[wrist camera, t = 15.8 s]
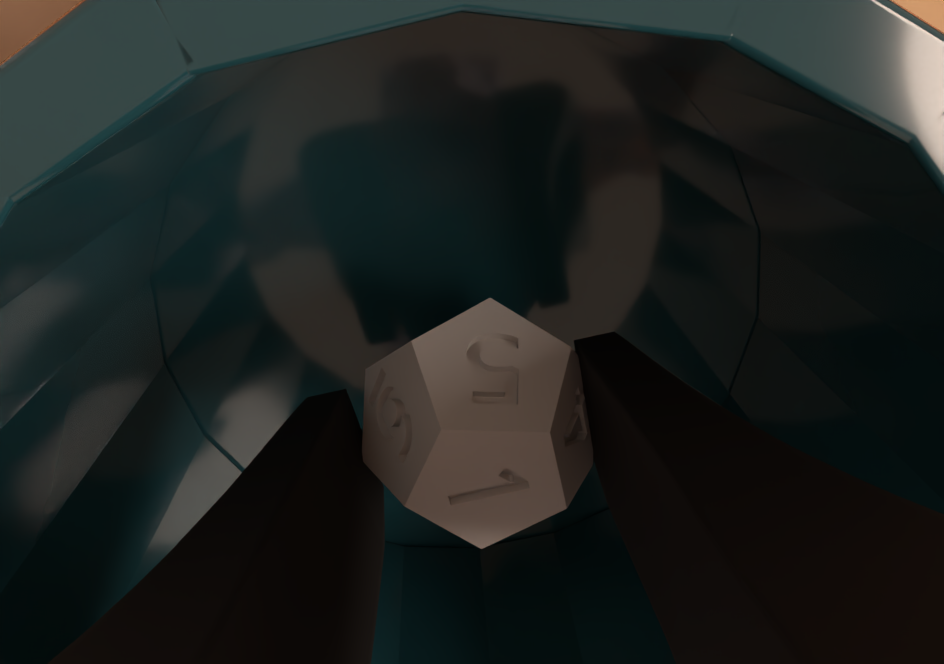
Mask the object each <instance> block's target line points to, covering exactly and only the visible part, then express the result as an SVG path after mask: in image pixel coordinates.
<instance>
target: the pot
mask: <svg viewBox="0 0 944 664" xmlns="http://www.w3.org/2000/svg"><path fill="white" fill-rule="evenodd" d="M488 298H492V299H493V300H495V301H497V302H498V303H500V304H502V305H503V306H505V307H506V308H508V309H510V310H511V311H513V312H515V313H516V314H518V315H520V316H521V317H523V318H524V319H526V320H528V321H529V322H531V323H533V324H534V325H536V326H538V327H539V328H541V329H543V330H544V331H546V332H547V333H549V334H551V335H552V336H554V337H556V338H557V339H559V340H561V341H562V342H564V343H565V344H567V345H569V346H570V347H572V349H573V350H574V351H575V346H574V340H577V339H581V338H586V337H591V336H596V335H600V334H605V333H610V332H616V333H617V334H619V335H620V336H622V337H623V338H625V339H626V340H627V341H629V342H630V343H631V344H633V345H634V346H635V347H637V348H638V349H639V350H641V351H642V352H643V353H645V354H646V355H648V356H649V357H650V358H652V359H653V360H654V361H656V362H657V363H659V364H660V365H661V366H663V367H664V368H665V369H667V370H668V371H670V372H671V373H672V374H674V375H675V376H677V377H678V378H680V379H681V380H683V381H684V382H685V383H687V384H688V385H690V386H691V387H693V388H694V389H696V390H698V391H699V392H701V393H702V394H704V395H705V396H707V397H708V398H710V399H711V400H713V401H714V402H716V403H717V404H719V405H720V406H722V407H724V408H725V409H727V410H728V411H730V412H732V413H733V414H735V415H737V416H738V417H740V418H742V419H744V420H745V421H747V422H749V423H751V424H752V425H754V426H756V427H758V428H759V429H761V430H763V431H765V432H766V433H768V434H770V435H772V436H773V437H775V438H777V439H779V440H781V441H783V442H785V443H787V444H788V445H790V446H792V447H794V448H796V449H798V450H800V451H802V452H804V453H806V454H808V455H810V456H812V457H814V458H816V459H819V460H821V461H823V462H825V463H827V464H829V465H831V466H833V467H835V468H837V469H839V470H841V471H844V472H846V473H848V474H850V475H852V476H854V477H856V478H858V479H860V480H863V481H865V482H867V483H869V484H872V485H874V486H876V487H879V488H881V489H883V490H886V491H888V492H890V493H892V494H895V495H897V496H899V497H902V498H904V499H907V500H909V501H912V502H914V503H917V504H919V505H922V506H924V507H927V508H929V509H932V510H934V511H937V512H939V513H942V514H944V33H943V32H942V31H940V30H939V29H937V28H935V27H934V26H932V25H931V24H929V23H927V22H926V21H924V20H923V19H921V18H919V17H918V16H916V15H915V14H913V13H911V12H910V11H908V10H907V9H905V8H903V7H902V6H900V5H899V4H897V3H896V2H894V1H892V0H82V1H81V2H79V3H78V4H77V5H75V6H74V7H73V8H72V9H70V10H69V11H68V12H66V13H65V14H64V15H63V16H61V17H60V18H59V19H57V20H56V21H55V22H53V23H52V24H51V25H50V26H48V27H47V28H46V29H44V30H43V31H42V32H41V33H39V34H38V35H37V36H35V37H34V38H33V39H31V40H30V41H29V42H28V43H26V44H25V45H24V46H22V47H21V48H20V49H19V50H17V51H16V52H15V53H13V54H12V55H11V56H9V57H8V58H7V59H6V60H4V61H3V62H2V63H0V664H47V663H48V662H50V661H51V660H52V659H53V658H54V657H56V656H57V655H58V654H59V653H60V652H62V651H63V650H64V649H65V648H66V647H68V646H69V645H70V644H71V643H72V642H74V641H75V640H76V639H77V638H78V637H80V636H81V635H82V634H83V633H84V632H85V631H86V630H88V629H89V628H90V627H91V626H92V625H93V624H94V623H95V622H97V621H98V620H99V619H100V618H101V617H102V616H103V615H104V614H105V613H106V612H107V611H108V610H110V609H111V608H112V607H113V606H114V605H115V604H116V603H117V602H118V601H119V600H120V599H121V598H123V597H124V596H125V595H126V594H127V593H128V592H129V591H130V590H131V589H132V588H133V587H134V586H136V585H137V584H138V583H139V582H140V581H141V580H142V579H143V578H144V577H145V576H146V575H147V574H148V573H149V572H150V571H151V570H152V569H153V568H154V567H155V566H156V565H157V564H158V563H159V562H160V561H161V560H162V559H163V558H164V557H165V556H166V555H167V554H168V553H169V552H170V551H171V550H172V549H173V548H174V547H175V546H176V545H177V544H178V542H179V541H180V540H181V539H182V538H183V537H184V536H185V535H186V534H187V533H188V532H189V531H190V530H191V528H192V527H193V526H194V525H195V524H196V523H197V522H198V521H199V520H200V519H201V518H202V517H203V516H204V514H205V513H206V512H207V511H208V510H209V509H210V508H211V507H212V506H213V505H214V504H215V503H216V502H217V500H218V499H219V498H220V497H221V496H222V495H223V494H224V493H225V492H226V491H227V489H228V488H229V487H230V486H231V485H232V484H233V483H234V481H235V480H236V479H237V478H238V477H239V475H240V474H241V473H242V472H243V471H244V470H245V468H246V467H247V466H248V465H249V464H250V463H251V461H252V460H253V459H254V458H255V457H256V456H257V454H258V453H259V452H260V451H261V450H262V449H263V447H264V446H265V445H266V444H267V443H268V441H269V440H270V439H271V438H272V437H273V435H274V434H275V433H276V432H277V431H278V429H279V428H280V427H281V426H282V425H283V424H284V422H285V421H286V420H287V419H288V418H289V416H290V415H291V414H292V413H293V412H294V411H295V410H296V408H297V407H298V406H299V405H300V404H301V403H302V402H303V401H304V400H305V399H306V398H307V397H310V396H315V395H319V394H324V393H329V392H333V391H338V390H343V389H346V390H347V393H348V395H349V398H350V401H351V403H352V406H353V408H354V411H355V414H356V416H357V419H358V421H359V424H360V427H361V429H362V432H363V412H364V390H365V369H367V368H368V367H370V366H371V365H373V364H375V363H376V362H378V361H380V360H381V359H383V358H384V357H386V356H388V355H389V354H391V353H392V352H394V351H396V350H397V349H399V348H401V347H402V346H404V345H405V344H407V343H409V342H410V341H412V340H414V339H416V338H417V337H419V336H421V335H423V334H425V333H427V332H428V331H430V330H432V329H434V328H436V327H437V326H439V325H441V324H443V323H445V322H447V321H448V320H450V319H452V318H454V317H456V316H457V315H459V314H461V313H463V312H465V311H467V310H468V309H470V308H472V307H474V306H476V305H477V304H479V303H481V302H483V301H485V300H487V299H488ZM382 484H383V483H382ZM383 486H384V518H385V548H384V557H383V567H382V575H381V584H380V593H379V602H378V610H377V618H376V626H375V635H374V643H373V651H372V659H371V664H676V662H675V660H674V657H673V654H672V652H671V649H670V647H669V644H668V642H667V639H666V637H665V635H664V632H663V630H662V628H661V626H660V623H659V621H658V619H657V617H656V614H655V612H654V610H653V607H652V605H651V603H650V601H649V598H648V596H647V594H646V591H645V589H644V587H643V585H642V582H641V580H640V578H639V575H638V573H637V571H636V569H635V566H634V564H633V562H632V560H631V557H630V555H629V553H628V550H627V548H626V546H625V543H624V541H623V539H622V537H621V534H620V532H619V530H618V527H617V525H616V523H615V520H614V518H613V516H612V513H611V511H610V509H609V506H608V504H607V501H606V498H605V495H604V492H603V488H602V485H601V482H600V479H599V476H598V472H597V469H596V466H595V462H594V459H593V465H592V467H591V469H590V471H589V472H588V474H587V476H586V477H585V479H584V481H583V482H582V484H581V486H580V487H579V489H578V491H577V492H576V494H575V496H574V497H573V499H572V501H571V503H570V504H569V506H568V508H567V509H565V510H563V511H561V512H559V513H557V514H554V515H552V516H550V517H548V518H546V519H544V520H542V521H540V522H538V523H536V524H533V525H531V526H529V527H527V528H525V529H523V530H521V531H519V532H517V533H514V534H512V535H510V536H508V537H506V538H504V539H502V540H500V541H498V542H496V543H493V544H491V545H489V546H487V547H485V548H483V549H480V548H479V547H477V546H475V545H473V544H471V543H470V542H468V541H466V540H464V539H462V538H461V537H459V536H457V535H455V534H453V533H451V532H450V531H448V530H446V529H444V528H442V527H441V526H439V525H437V524H435V523H433V522H432V521H430V520H428V519H426V518H424V517H423V516H421V515H419V514H417V513H415V512H414V511H412V510H410V509H408V508H406V507H405V506H404V505H403V504H402V503H401V502H400V501H399V500H398V499H397V498H396V497H395V496H394V495H393V494H392V492H391V491H390V490H389V489H388V488H387V487H386V486H385V485H384V484H383Z"/></svg>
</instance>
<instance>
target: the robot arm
mask: <svg viewBox="0 0 944 664" xmlns="http://www.w3.org/2000/svg"><path fill="white" fill-rule="evenodd" d="M574 346H575V352H576V354H577V355H578V357H579V363H580V370H581V376H582V383H583V393H584V397H585V402H586V408H587V415H588V421H589V428H590V434H591V440H592V447H593V459H594V462H595V466H596V469H597V472H598V476H599V479H600V482H601V485H602V488H603V492H604V495H605V498H606V501H607V504H608V506H609V509H610V511H611V513H612V516H613V518H614V520H615V523H616V525H617V527H618V530H619V532H620V534H621V537H622V539H623V541H624V543H625V546H626V548H627V550H628V553H629V555H630V557H631V560H632V562H633V564H634V566H635V569H636V571H637V573H638V575H639V578H640V580H641V582H642V585H643V587H644V589H645V591H646V594H647V596H648V598H649V601H650V603H651V605H652V607H653V610H654V612H655V614H656V617H657V619H658V621H659V623H660V626H661V628H662V630H663V632H664V635H665V637H666V639H667V642H668V644H669V647H670V649H671V652H672V654H673V657H674V660H675V662H676V664H944V514H942V513H939V512H937V511H934V510H932V509H929V508H927V507H924V506H922V505H919V504H917V503H914V502H912V501H909V500H907V499H904V498H902V497H899V496H897V495H895V494H892V493H890V492H888V491H886V490H883V489H881V488H879V487H876V486H874V485H872V484H869V483H867V482H865V481H863V480H860V479H858V478H856V477H854V476H852V475H850V474H848V473H846V472H844V471H841V470H839V469H837V468H835V467H833V466H831V465H829V464H827V463H825V462H823V461H821V460H819V459H816V458H814V457H812V456H810V455H808V454H806V453H804V452H802V451H800V450H798V449H796V448H794V447H792V446H790V445H788V444H787V443H785V442H783V441H781V440H779V439H777V438H775V437H773V436H772V435H770V434H768V433H766V432H765V431H763V430H761V429H759V428H758V427H756V426H754V425H752V424H751V423H749V422H747V421H745V420H744V419H742V418H740V417H738V416H737V415H735V414H733V413H732V412H730V411H728V410H727V409H725V408H724V407H722V406H720V405H719V404H717V403H716V402H714V401H713V400H711V399H710V398H708V397H707V396H705V395H704V394H702V393H701V392H699V391H698V390H696V389H694V388H693V387H691V386H690V385H688V384H687V383H685V382H684V381H683V380H681V379H680V378H678V377H677V376H675V375H674V374H672V373H671V372H670V371H668V370H667V369H665V368H664V367H663V366H661V365H660V364H659V363H657V362H656V361H654V360H653V359H652V358H650V357H649V356H648V355H646V354H645V353H643V352H642V351H641V350H639V349H638V348H637V347H635V346H634V345H633V344H631V343H630V342H629V341H627V340H626V339H625V338H623V337H622V336H620V335H619V334H617V333H616V332H610V333H605V334H600V335H596V336H591V337H586V338H581V339H577V340H574ZM362 435H363V432H362V429H361V427H360V424H359V421H358V419H357V416H356V414H355V411H354V408H353V406H352V403H351V401H350V398H349V395H348V393H347V390H346V389H343V390H338V391H333V392H329V393H324V394H319V395H315V396H310V397H307V398H306V399H305V400H304V401H303V402H302V403H301V404H300V405H299V406H298V407H297V408H296V410H295V411H294V412H293V413H292V414H291V415H290V416H289V418H288V419H287V420H286V421H285V422H284V424H283V425H282V426H281V427H280V428H279V429H278V431H277V432H276V433H275V434H274V435H273V437H272V438H271V439H270V440H269V441H268V443H267V444H266V445H265V446H264V447H263V449H262V450H261V451H260V452H259V453H258V454H257V456H256V457H255V458H254V459H253V460H252V461H251V463H250V464H249V465H248V466H247V467H246V468H245V470H244V471H243V472H242V473H241V474H240V475H239V477H238V478H237V479H236V480H235V481H234V483H233V484H232V485H231V486H230V487H229V488H228V489H227V491H226V492H225V493H224V494H223V495H222V496H221V497H220V498H219V499H218V500H217V502H216V503H215V504H214V505H213V506H212V507H211V508H210V509H209V510H208V511H207V512H206V513H205V514H204V516H203V517H202V518H201V519H200V520H199V521H198V522H197V523H196V524H195V525H194V526H193V527H192V528H191V530H190V531H189V532H188V533H187V534H186V535H185V536H184V537H183V538H182V539H181V540H180V541H179V542H178V544H177V545H176V546H175V547H174V548H173V549H172V550H171V551H170V552H169V553H168V554H167V555H166V556H165V557H164V558H163V559H162V560H161V561H160V562H159V563H158V564H157V565H156V566H155V567H154V568H153V569H152V570H151V571H150V572H149V573H148V574H147V575H146V576H145V577H144V578H143V579H142V580H141V581H140V582H139V583H138V584H137V585H136V586H134V587H133V588H132V589H131V590H130V591H129V592H128V593H127V594H126V595H125V596H124V597H123V598H121V599H120V600H119V601H118V602H117V603H116V604H115V605H114V606H113V607H112V608H111V609H110V610H108V611H107V612H106V613H105V614H104V615H103V616H102V617H101V618H100V619H99V620H98V621H97V622H95V623H94V624H93V625H92V626H91V627H90V628H89V629H88V630H86V631H85V632H84V633H83V634H82V635H81V636H80V637H78V638H77V639H76V640H75V641H74V642H72V643H71V644H70V645H69V646H68V647H66V648H65V649H64V650H63V651H62V652H60V653H59V654H58V655H57V656H56V657H54V658H53V659H52V660H51V661H50V662H48V663H47V664H371V659H372V651H373V643H374V635H375V626H376V618H377V610H378V602H379V593H380V584H381V575H382V567H383V557H384V548H385V518H384V486H383V484H382V482H381V481H380V479H379V478H378V477H377V476H376V475H375V474H374V473H373V472H372V471H371V470H370V469H369V468H368V466H367V465H366V464H365V463H364V462H363V457H362Z"/></svg>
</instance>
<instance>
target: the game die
mask: <svg viewBox="0 0 944 664" xmlns="http://www.w3.org/2000/svg"><path fill="white" fill-rule="evenodd" d="M362 457H363V462H364V463H365V464H366V465H367V466H368V468H369V469H370V470H371V471H372V472H373V473H374V474H375V475H376V476H377V477H378V478H379V479H380V481H381V482H382V483H383V484H384V485H385V486H386V487H387V488H388V489H389V490H390V491H391V492H392V494H393V495H394V496H395V497H396V498H397V499H398V500H399V501H400V502H401V503H402V504H403V505H404V506H405V507H406V508H408V509H410V510H412V511H414V512H415V513H417V514H419V515H421V516H423V517H424V518H426V519H428V520H430V521H432V522H433V523H435V524H437V525H439V526H441V527H442V528H444V529H446V530H448V531H450V532H451V533H453V534H455V535H457V536H459V537H461V538H462V539H464V540H466V541H468V542H470V543H471V544H473V545H475V546H477V547H479V548H480V549H483V548H485V547H487V546H489V545H491V544H493V543H496V542H498V541H500V540H502V539H504V538H506V537H508V536H510V535H512V534H514V533H517V532H519V531H521V530H523V529H525V528H527V527H529V526H531V525H533V524H536V523H538V522H540V521H542V520H544V519H546V518H548V517H550V516H552V515H554V514H557V513H559V512H561V511H563V510H565V509H567V508H568V506H569V504H570V503H571V501H572V499H573V497H574V496H575V494H576V492H577V491H578V489H579V487H580V486H581V484H582V482H583V481H584V479H585V477H586V476H587V474H588V472H589V471H590V469H591V467H592V465H593V447H592V440H591V434H590V428H589V421H588V415H587V408H586V402H585V397H584V393H583V383H582V376H581V370H580V363H579V357H578V355H577V354H576V352H575V351H574V350H573V349H572V347H570V346H569V345H567V344H565V343H564V342H562V341H561V340H559V339H557V338H556V337H554V336H552V335H551V334H549V333H547V332H546V331H544V330H543V329H541V328H539V327H538V326H536V325H534V324H533V323H531V322H529V321H528V320H526V319H524V318H523V317H521V316H520V315H518V314H516V313H515V312H513V311H511V310H510V309H508V308H506V307H505V306H503V305H502V304H500V303H498V302H497V301H495V300H493V299H492V298H488V299H487V300H485V301H483V302H481V303H479V304H477V305H476V306H474V307H472V308H470V309H468V310H467V311H465V312H463V313H461V314H459V315H457V316H456V317H454V318H452V319H450V320H448V321H447V322H445V323H443V324H441V325H439V326H437V327H436V328H434V329H432V330H430V331H428V332H427V333H425V334H423V335H421V336H419V337H417V338H416V339H414V340H412V341H410V342H409V343H407V344H405V345H404V346H402V347H401V348H399V349H397V350H396V351H394V352H392V353H391V354H389V355H388V356H386V357H384V358H383V359H381V360H380V361H378V362H376V363H375V364H373V365H371V366H370V367H368V368H367V369H365V390H364V412H363V435H362Z"/></svg>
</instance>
